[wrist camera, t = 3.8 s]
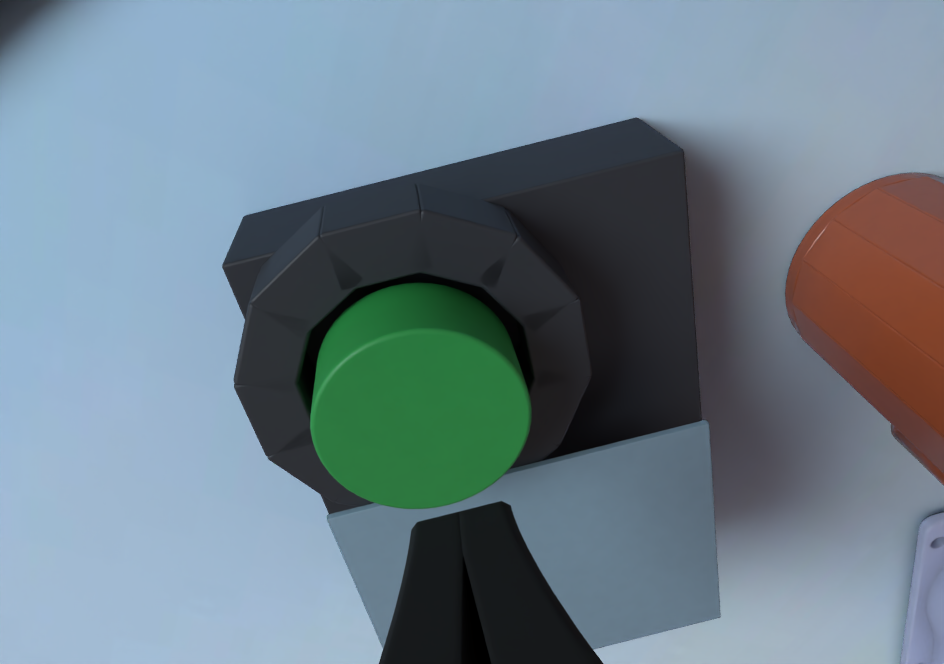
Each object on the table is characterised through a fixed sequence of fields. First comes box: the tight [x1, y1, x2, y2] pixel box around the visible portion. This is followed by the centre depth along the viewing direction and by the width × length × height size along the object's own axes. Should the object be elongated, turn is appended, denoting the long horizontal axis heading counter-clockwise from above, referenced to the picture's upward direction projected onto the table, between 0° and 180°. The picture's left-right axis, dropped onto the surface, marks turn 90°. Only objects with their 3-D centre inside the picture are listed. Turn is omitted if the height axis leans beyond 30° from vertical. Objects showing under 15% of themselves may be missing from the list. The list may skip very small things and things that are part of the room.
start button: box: [310, 283, 532, 509], centre depth 14 cm, size 4×4×2 cm
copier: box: [222, 118, 702, 514], centre depth 18 cm, size 13×10×4 cm
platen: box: [327, 420, 721, 649], centre depth 17 cm, size 6×8×1 cm
